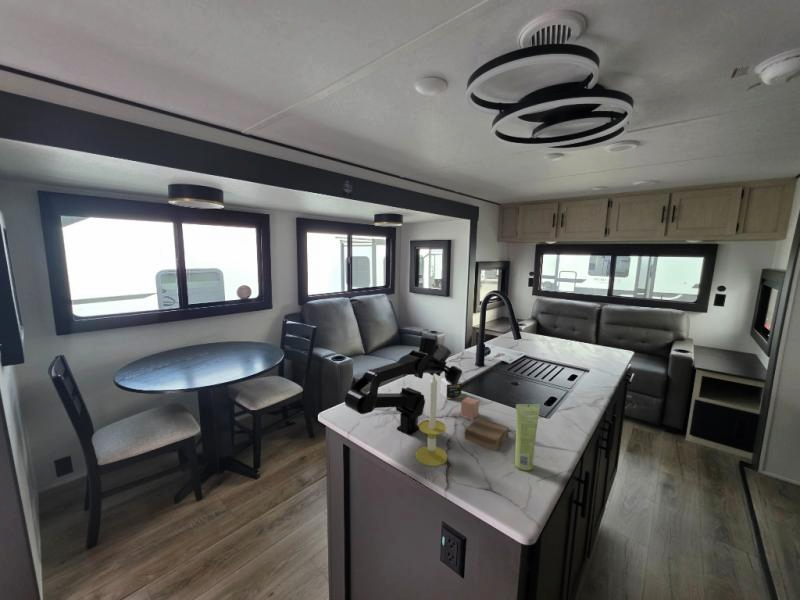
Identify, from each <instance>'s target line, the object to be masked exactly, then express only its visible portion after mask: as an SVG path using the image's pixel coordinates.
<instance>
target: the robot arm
mask: <svg viewBox="0 0 800 600" xmlns="http://www.w3.org/2000/svg"><path fill="white" fill-rule="evenodd" d="M451 354H452V352H451V350H450V349H449V348H448V347H447V346H445V345H443V344H441V343H438V339H437V338H436V339H435V338H433V337H432V338H431V337H426V336H422V337H421V338H420V344H419V349H418V350H415V349H412V350H411V351H410V352H409V353H408V354H405V355H403V356H401V357H400V358H399V359H398V361H395V362H393V363H389V364H386V365H382V366H380V367H376V368H372V369H371V368H370V369H367V370H365V372H364V373H363V375H362V376H361V378H359V379H357V380H356V381H355V382H353V384H352V386H351V387H350V388H349V389H348V391H347V393H346V395H345V397H344V404H345V406H346V407H347V408H350V409H351V410H353V411H355V412H356V413H358V414H360V415H366V414H369V413H372V412H373V411H374V410H375V409H379V408H380V409H383V408H384V409H385V408H395V410H396V412H399V413H400V417H399V419H400V423H399V425H398V426H397V427H396V429H397V431H400V432H402V433H405V434H407V435H408V436H412V435H413V434H415V433H416V432H418V431H419V430H420V429H419V417H420V416H422V415H423V412H424V408H425V405H426V399H425V395H424V394H423V393H422V392H421V391H420V390H419V391H418V390H416V389H413V388H411V387H401V391H400V392H399V393H393V392H391V393H385V392H384V393H378V392H379V387H380V385H381V384H382V383H384V382H386V381H390V380H393V379H394V378H398V377H400V376H403V375H408V376H409V375H410V376H411V375H412V376H414V377H416V378H419V379H423V377H424V374H430V376H432V377H433V375H435V376H438V377H441V375H442V373H443V372H444V374H445V373H447V376H446V381H448V382H449V383H451V384H452V385H457V383H458V381H460V378H461V377H462V373H463V371H462V369H461V368H459V367H457V366H455V365H452V366H450V367H449V366H448V365H447V360H448V358H449V356H450V355H451ZM447 369H448V370H447ZM369 384H370V386H369V391H368V392H367V391H364V390H362V389H364V388H365V387H366V386H367V385H369Z"/></svg>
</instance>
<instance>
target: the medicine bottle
mask: <svg viewBox="0 0 800 600" xmlns="http://www.w3.org/2000/svg"><path fill="white" fill-rule="evenodd" d="M447 370H448V369H447ZM446 376H447V373H445V372H444V377H442V378H441V377H440V394H441V395H442V396H443V398H445V399H446V400H452V399H451V398H455V399H461V398H462V382H461V381H460V380H459V381H458V383H457V385H452V384H451V383H449V382H448V381H446ZM460 397H461V398H460Z"/></svg>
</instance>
